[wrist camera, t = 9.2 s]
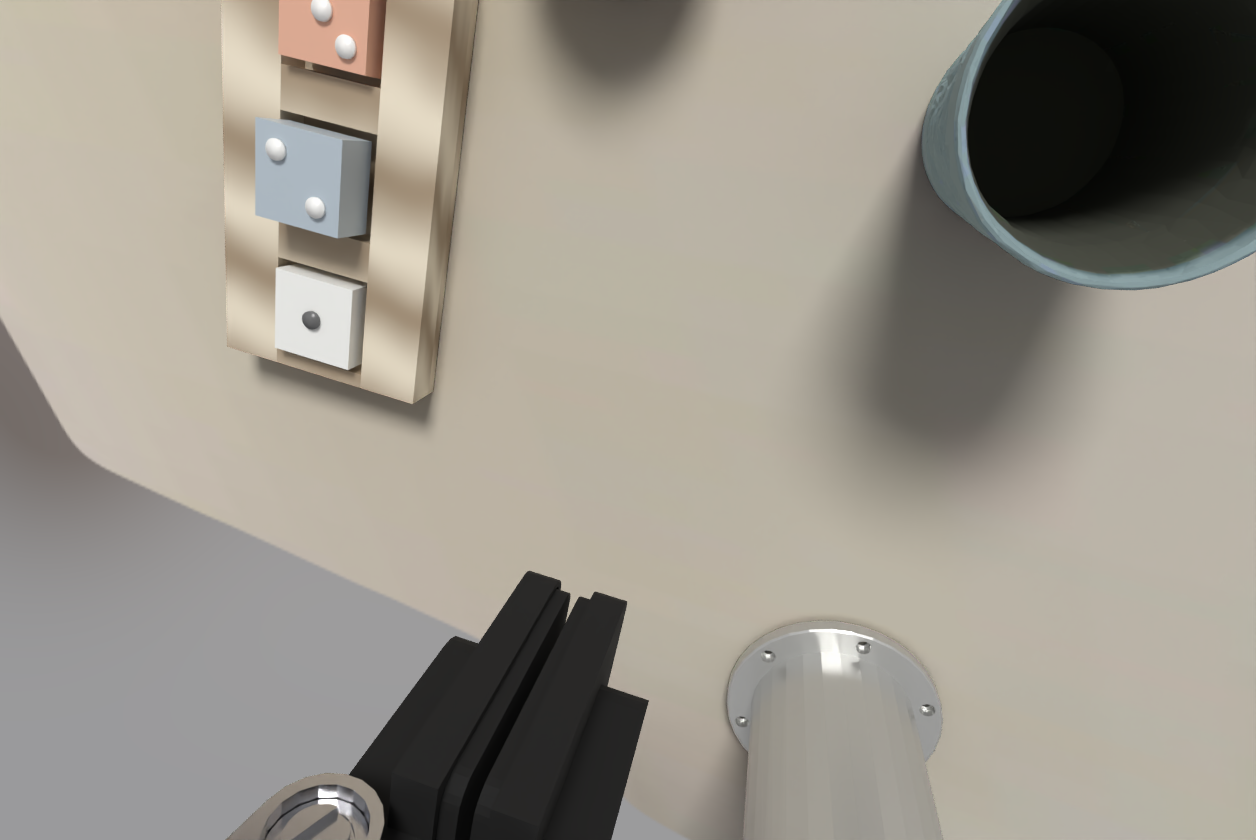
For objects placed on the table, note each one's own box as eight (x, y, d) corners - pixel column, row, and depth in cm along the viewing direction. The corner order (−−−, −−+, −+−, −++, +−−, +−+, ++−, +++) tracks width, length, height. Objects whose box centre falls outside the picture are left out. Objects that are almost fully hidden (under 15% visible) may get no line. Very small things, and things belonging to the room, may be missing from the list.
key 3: (392, 81, 33) (362, 75, 31) (310, 61, 34) (275, 53, 32) (400, -24, 32) (369, -40, 29) (314, -44, 32) (276, -61, 30)
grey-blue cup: (1150, 224, 29) (1370, 258, 18) (904, 265, 32) (964, 317, 21) (1161, -41, 26) (1433, -193, 15) (886, 30, 29) (947, -53, 18)
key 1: (372, 358, 39) (345, 371, 37) (302, 337, 40) (272, 348, 37) (377, 283, 37) (350, 290, 35) (305, 261, 38) (273, 268, 36)
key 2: (365, 233, 35) (335, 239, 33) (288, 212, 35) (252, 215, 33) (371, 141, 33) (339, 139, 31) (289, 120, 34) (252, 116, 31)
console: (433, 391, 40) (412, 404, 38) (256, 337, 41) (227, 346, 39) (482, -34, 31) (459, -49, 29) (256, -84, 33) (219, -102, 31)
